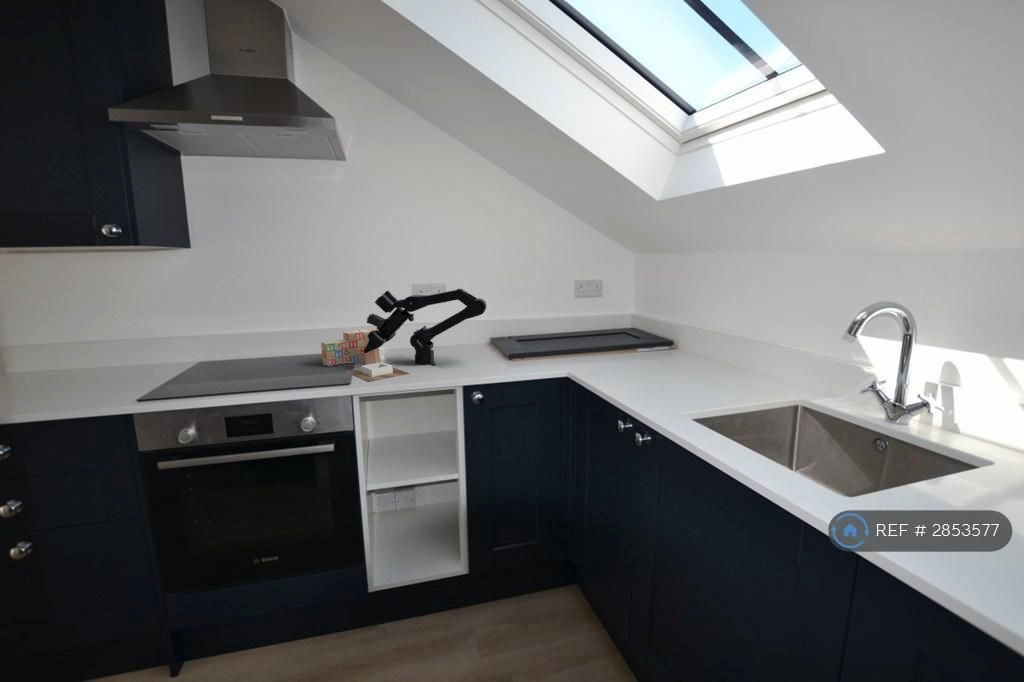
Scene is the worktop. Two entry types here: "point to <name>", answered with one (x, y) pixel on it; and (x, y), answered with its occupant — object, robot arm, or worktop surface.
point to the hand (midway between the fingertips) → (368, 349)
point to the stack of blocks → (345, 348)
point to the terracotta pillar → (371, 353)
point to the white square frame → (377, 369)
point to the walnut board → (368, 378)
